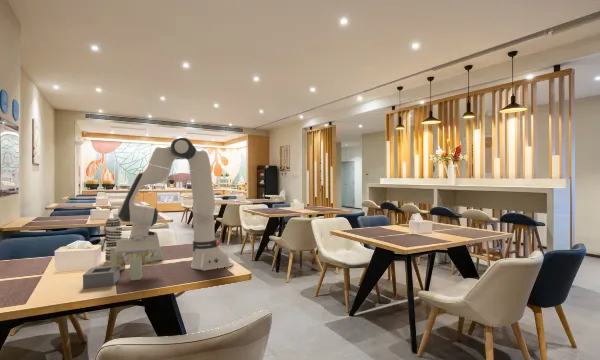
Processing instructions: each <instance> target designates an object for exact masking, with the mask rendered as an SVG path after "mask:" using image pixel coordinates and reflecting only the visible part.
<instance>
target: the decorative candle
mask: <svg viewBox="0 0 600 360" xmlns="http://www.w3.org/2000/svg"><path fill="white" fill-rule="evenodd" d="M121 222H122V221H121V220H120V218H119V217H110V218H107V219H106V221H105V228H104V233H103V234H104V242H105V245H106V246H105V250H104V251H105V257H104V258H105V263H110V248H113V247H116V242H117V240H118V239H120V238H122V237H121V236H123V234H122V233H123V232H122V230H123V228H122V226H121Z"/></svg>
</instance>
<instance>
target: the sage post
mask: <svg viewBox="0 0 600 360" xmlns="http://www.w3.org/2000/svg"><path fill="white" fill-rule="evenodd" d="M129 268H130V269H129V272H130V273H129V275H130V277H129V278H130V279H129V280H130V281H139V280H141V279H142V278H143V264H142V257H132V256H131V257H130V259H129Z"/></svg>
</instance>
